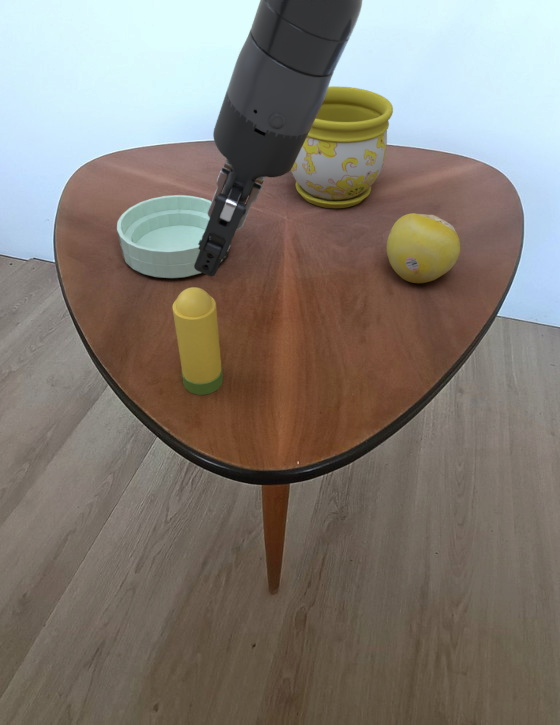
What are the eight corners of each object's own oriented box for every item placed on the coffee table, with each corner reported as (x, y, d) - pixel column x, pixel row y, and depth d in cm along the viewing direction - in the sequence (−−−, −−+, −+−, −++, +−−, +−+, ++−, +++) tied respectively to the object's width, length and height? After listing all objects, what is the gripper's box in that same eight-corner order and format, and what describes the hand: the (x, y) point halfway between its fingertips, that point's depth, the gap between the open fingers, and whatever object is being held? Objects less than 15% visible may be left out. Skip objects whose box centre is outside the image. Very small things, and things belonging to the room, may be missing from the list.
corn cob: (176, 388, 69) (160, 298, 59) (194, 362, 72) (182, 273, 62) (212, 399, 67) (203, 309, 58) (229, 372, 71) (223, 283, 61)
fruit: (451, 298, 82) (468, 240, 76) (379, 288, 84) (389, 230, 77) (451, 261, 90) (467, 204, 83) (385, 252, 91) (394, 196, 84)
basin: (102, 268, 87) (94, 237, 83) (157, 216, 98) (152, 187, 95) (201, 292, 83) (197, 261, 79) (245, 235, 94) (244, 206, 91)
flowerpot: (269, 183, 108) (269, 94, 97) (345, 164, 115) (354, 80, 103) (316, 225, 97) (323, 131, 86) (399, 202, 103) (415, 112, 92)
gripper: (247, 50, 50) (199, 193, 61) (207, 121, 40) (159, 274, 52) (322, 88, 51) (261, 221, 63) (300, 166, 42) (233, 305, 53)
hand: (215, 245), depth 57 cm, fingers open, 8 cm apart
